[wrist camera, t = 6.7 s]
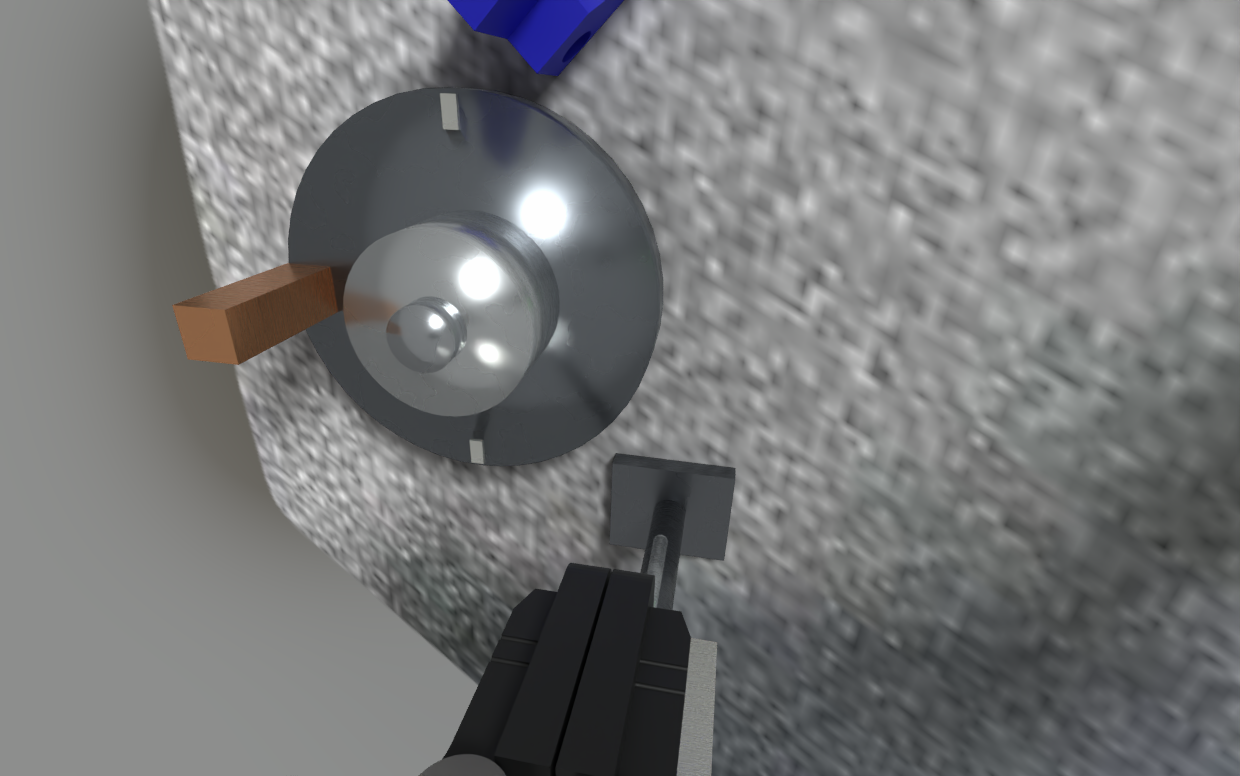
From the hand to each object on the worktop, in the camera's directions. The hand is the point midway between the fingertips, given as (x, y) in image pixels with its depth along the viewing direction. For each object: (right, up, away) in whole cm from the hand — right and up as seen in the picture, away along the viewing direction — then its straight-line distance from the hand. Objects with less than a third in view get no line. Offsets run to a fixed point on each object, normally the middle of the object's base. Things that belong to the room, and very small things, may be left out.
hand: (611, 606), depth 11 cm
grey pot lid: (-6, +8, +17) cm, 19 cm away
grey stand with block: (+3, -2, +21) cm, 21 cm away
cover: (-6, +8, +15) cm, 18 cm away
